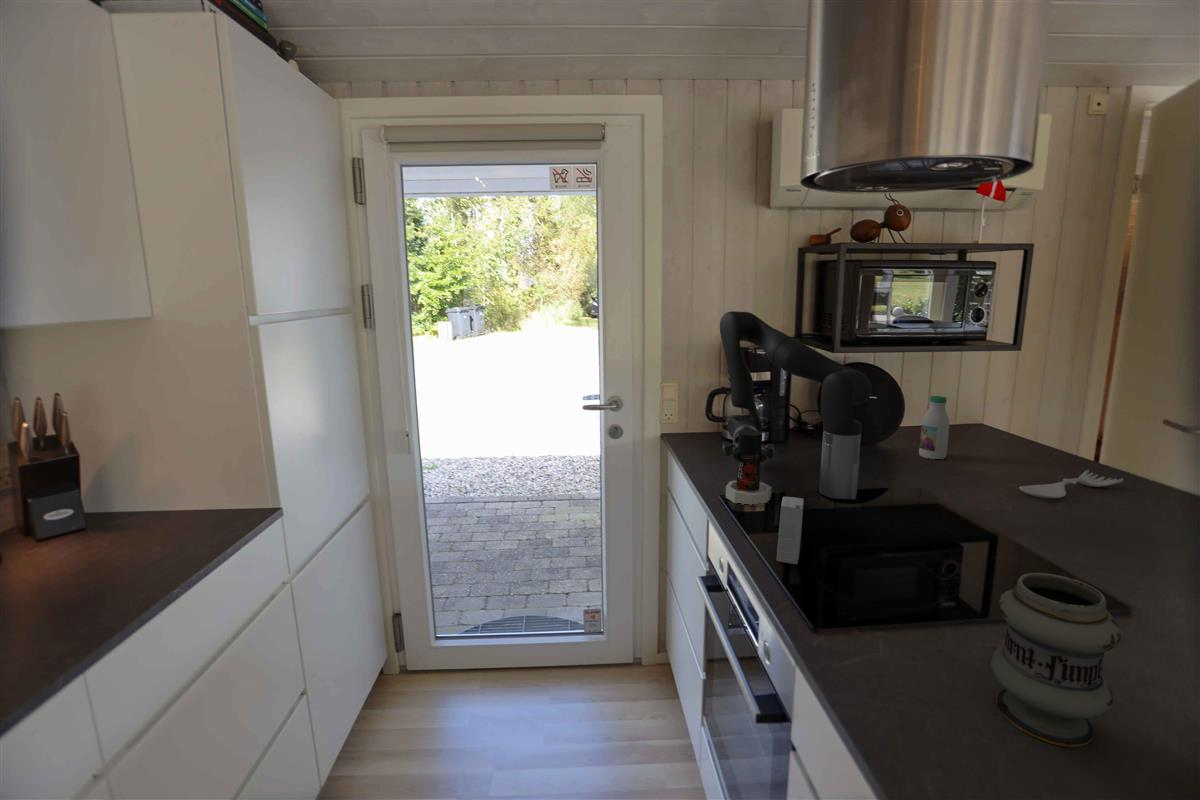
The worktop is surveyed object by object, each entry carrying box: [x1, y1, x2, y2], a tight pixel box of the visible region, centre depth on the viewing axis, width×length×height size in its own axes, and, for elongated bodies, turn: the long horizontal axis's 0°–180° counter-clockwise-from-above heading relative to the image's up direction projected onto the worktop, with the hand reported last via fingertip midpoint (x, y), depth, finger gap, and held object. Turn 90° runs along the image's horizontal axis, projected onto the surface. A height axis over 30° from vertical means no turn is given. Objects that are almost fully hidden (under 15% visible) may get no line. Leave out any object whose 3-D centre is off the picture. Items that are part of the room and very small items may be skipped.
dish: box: [725, 480, 772, 506], centre depth 150 cm, size 11×11×3 cm
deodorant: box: [736, 430, 763, 491], centre depth 148 cm, size 6×6×15 cm
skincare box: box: [775, 496, 805, 565], centre depth 115 cm, size 6×4×12 cm
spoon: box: [1018, 469, 1124, 500], centre depth 153 cm, size 9×32×4 cm, turn 111°
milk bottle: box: [918, 395, 950, 460], centre depth 183 cm, size 8×8×20 cm
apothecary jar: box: [990, 572, 1122, 748], centre depth 71 cm, size 12×12×18 cm
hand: (749, 457), depth 146 cm, fingers closed on deodorant, 6 cm apart
